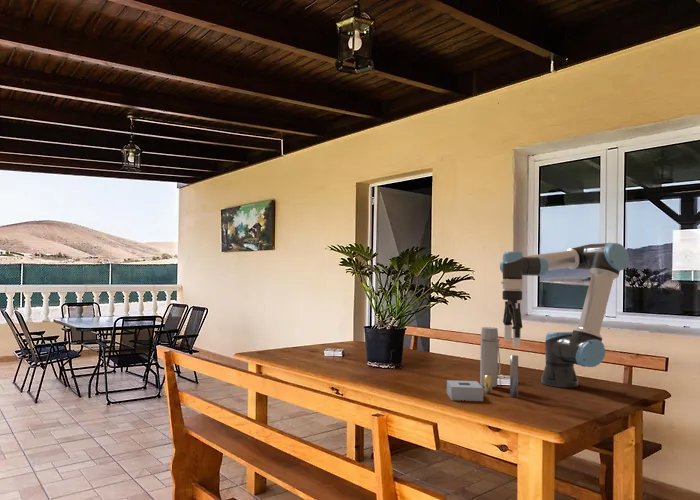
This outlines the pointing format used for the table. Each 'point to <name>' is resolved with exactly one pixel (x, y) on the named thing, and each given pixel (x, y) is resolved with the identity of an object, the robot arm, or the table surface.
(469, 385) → the socket block
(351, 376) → the table surface
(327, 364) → the table surface
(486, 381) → the short pin
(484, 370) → the water bottle
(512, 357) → the long pin
